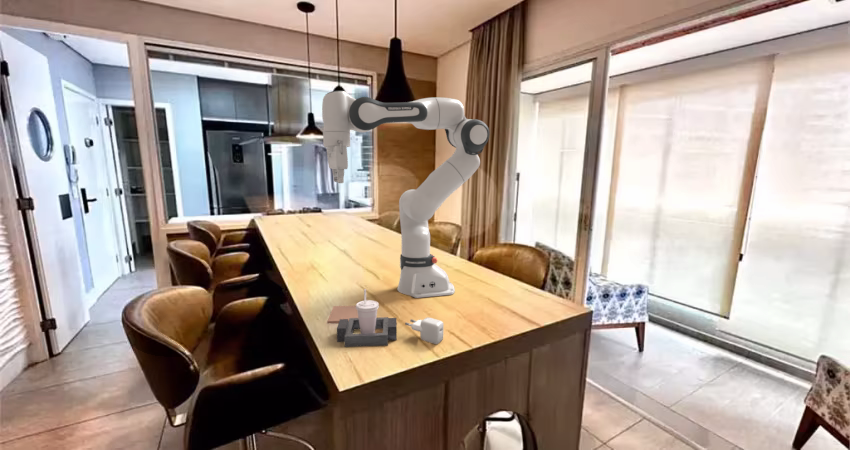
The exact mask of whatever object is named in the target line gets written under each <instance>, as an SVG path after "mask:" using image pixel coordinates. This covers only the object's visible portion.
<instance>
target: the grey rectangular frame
mask: <svg viewBox="0 0 850 450" xmlns="http://www.w3.org/2000/svg"><path fill="white" fill-rule="evenodd" d="M397 328H398V327H397V317H388V316H385V317H378V316H377V317H376V326H375V330H382V332H375V333H364V334H361V333H354V331H355V330H360V325H359V318H349V322H348V319H340V321H339V323H337V327H336V342H337V343H344V348H349V347H354V348H355V347H377V346H378V347H379V346H388V345H389V341H397V337H398V336H397V333H398V332H397Z"/></svg>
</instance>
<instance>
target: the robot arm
mask: <svg viewBox="0 0 850 450" xmlns="http://www.w3.org/2000/svg"><path fill="white" fill-rule="evenodd" d="M321 106H322V108H321V111H322V112H321V115H322V116H321V117H322V121H323V130H322V137H323V138H322V140H323V147H324V148H326V155H327V164H328V169H331V171H332V177H333V182H334V183H338V184H344V175H345V170H348V167H349V161H348V148H350V147H351V131H353V132H358V133H367V132H370V131H372V130H373V129H375V128H377V127H379V126H381V125H384V124H396V123H399V124H400V123H407V124H412V125H413V127H415V128H416V129H420V130H426V131H429V130H430V131H431V130H444V132H445V134H446V138H447V141H448V144H450V145H451V147H454V148H455V150H454V152H453V153H452V155H451V156H450V157H449V158H448V159H446V160H445V161H444V162H443V163H441V164H440V165H439V166H438V167H437V168H436V169H434V170H433V171H432V172H431V173H429V175H428V176H427V178H426V179H425V180H424V181H423V182H422V183H421V184H420V185H419V186H418V187H417V188H416V189H408V190H406V191H404V192H403V193H402V194H401V196H400V198H399V202H398V208H399V221H400V223H399V224H400V232H401V235H400V236H401V254H400V257H399V268H400V275H399V281H398V285H397V289H396V290H397V291H398V293H400V294H404V295H407V296H411V297H413V298H415V299H419V298H429V297H438V296H439V297H440V296H449V295H450V296H451V295H453V294H454V293H456V292H455V291H456V290H455V286H454V284H453V283H452V282H450V279H449V276H448V274H447V272H446V271H445V270H444V269H443V268H441V267H440V266H439V265H437V262H438V259H437V257H436V256H435V255H434V254H431V233H430V229H429V220H430V219H431V218H433V216H434V215H435V213H436V211H437V210H438V209H439V208H440V207H441V206H442V205H443V204H444V202H445V201H446V200H447V199H448V198H449V197H450V196H451V195H452V194H453V193H455V191H457V190H458V189H459V188H460V187H461V186H463V185H464V184H465V182H467V181H468V180H469V179H470V178H471V177H472V176H473V175H474V174H475V172H476V171H477V170H478V169H479V167H480V165H481V159H480V157H479V155H481V154H482V153H483V150H484V148H485V146H486V145H487V143H488V141H489V138H490V129H489V127H488V125H487V124H486V123H485V122H484V121H482V120H480V119H476V118H474V119H471V118H470V119H469V118H467V117H466V115H465V108H464V105H463V103H462V102H461V101H460V100H459V99H456V98H450V97H425V98H419V99H416V100H413V101H407V102H406V101H405V102H404V101H403V102H382V101H379V100H376V99H374V98H372V97H367V96H362V97H358V98H354V97H353V96H351V95H350V94H349V93H347V91H346V90H345V91H344V90H333V91H329V92H327V93H325V95H324V96H323V98H322V105H321Z"/></svg>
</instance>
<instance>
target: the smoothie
mask: <svg viewBox="0 0 850 450" xmlns="http://www.w3.org/2000/svg"><path fill="white" fill-rule="evenodd" d="M363 296H364V297H363V299H364V300H362V301H361V300H360V301H359V302H357V303H356V304H355V306H356V309H357V311H358V318H359V325H360V329H359V330H360V334H364V333H376V329H375V326H376V318H377V317H378V316H377V315H378V309H379V307H380V306H379V302H378V301H376V300H371V299H367V289H366V288H365V289H363Z"/></svg>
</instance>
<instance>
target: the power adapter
mask: <svg viewBox="0 0 850 450" xmlns="http://www.w3.org/2000/svg"><path fill="white" fill-rule="evenodd" d="M410 322H411V323H409V322H405V323H404V324H405V326H408V327H411V329H412V330H413V331H417V332H420V334H419V335H420V339H421V341H424V342H426V343H430V344H434V345H438V344H440V343H441V342H442V341H443V340H444V322H443V321H442V320H440V319H436V318H432V317H428V316H427V317H425V318H424V319H417V320H415V319H410Z"/></svg>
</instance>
